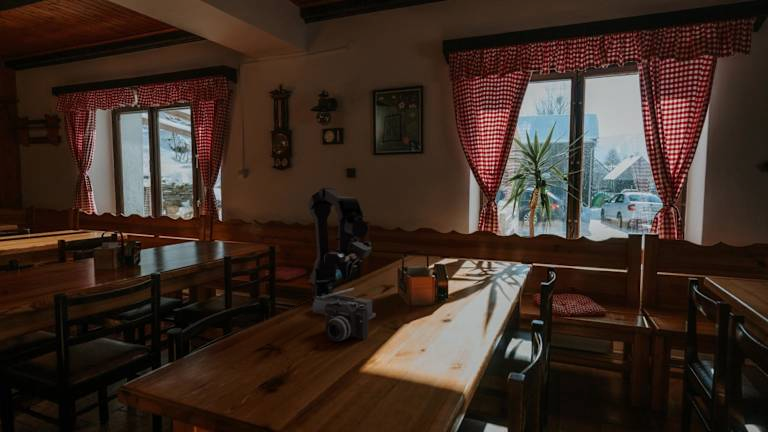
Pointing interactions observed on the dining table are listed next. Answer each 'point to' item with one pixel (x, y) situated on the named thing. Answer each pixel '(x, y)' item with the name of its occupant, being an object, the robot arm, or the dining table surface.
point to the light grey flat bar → (336, 293)
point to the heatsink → (320, 303)
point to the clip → (365, 303)
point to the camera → (346, 320)
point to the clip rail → (371, 316)
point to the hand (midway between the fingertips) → (346, 279)
